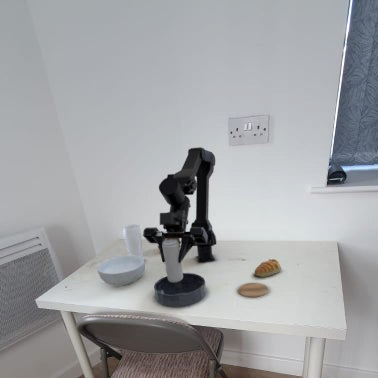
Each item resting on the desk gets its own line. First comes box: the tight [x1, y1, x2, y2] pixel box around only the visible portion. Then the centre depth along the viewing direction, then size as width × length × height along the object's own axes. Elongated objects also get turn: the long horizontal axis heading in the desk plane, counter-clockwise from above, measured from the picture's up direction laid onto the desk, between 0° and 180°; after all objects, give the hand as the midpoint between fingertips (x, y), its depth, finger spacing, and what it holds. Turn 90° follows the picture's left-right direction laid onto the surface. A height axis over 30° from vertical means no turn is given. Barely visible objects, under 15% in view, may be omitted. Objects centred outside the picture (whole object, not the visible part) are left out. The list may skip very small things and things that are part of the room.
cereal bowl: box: [96, 254, 146, 287], centre depth 117 cm, size 17×17×7 cm
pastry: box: [254, 258, 282, 278], centre depth 112 cm, size 9×7×4 cm
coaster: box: [238, 282, 269, 298], centre depth 102 cm, size 9×9×1 cm
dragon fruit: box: [156, 238, 181, 250], centre depth 141 cm, size 8×8×12 cm
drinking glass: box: [121, 223, 145, 260], centre depth 131 cm, size 7×7×15 cm
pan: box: [153, 272, 207, 308], centre depth 104 cm, size 16×16×4 cm
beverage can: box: [162, 239, 184, 283], centre depth 96 cm, size 5×5×12 cm
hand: (171, 262), depth 95 cm, fingers closed on beverage can, 5 cm apart
